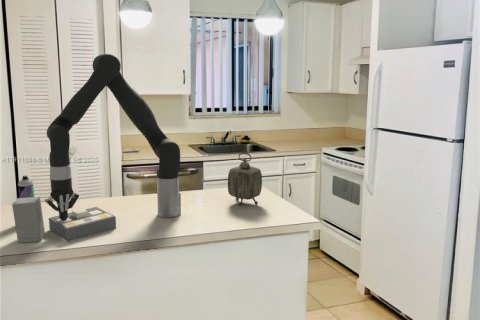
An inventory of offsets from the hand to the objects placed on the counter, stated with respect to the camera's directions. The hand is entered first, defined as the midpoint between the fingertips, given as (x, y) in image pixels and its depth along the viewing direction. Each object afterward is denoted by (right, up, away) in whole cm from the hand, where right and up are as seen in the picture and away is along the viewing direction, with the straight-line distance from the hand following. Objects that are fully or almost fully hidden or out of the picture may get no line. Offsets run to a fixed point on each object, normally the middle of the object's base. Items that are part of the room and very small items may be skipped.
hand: (63, 219), depth 170 cm
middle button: (+5, 0, +5) cm, 7 cm away
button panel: (+6, -4, +4) cm, 9 cm away
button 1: (0, -3, +1) cm, 3 cm away
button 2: (+9, -1, +10) cm, 13 cm away
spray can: (-18, -3, +10) cm, 21 cm away
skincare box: (-10, -7, -7) cm, 14 cm away
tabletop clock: (+70, +2, +39) cm, 80 cm away
